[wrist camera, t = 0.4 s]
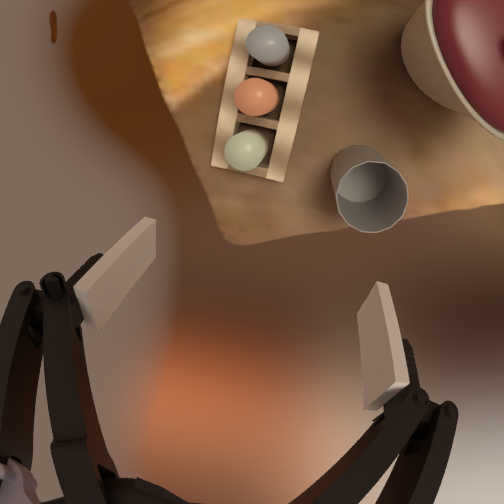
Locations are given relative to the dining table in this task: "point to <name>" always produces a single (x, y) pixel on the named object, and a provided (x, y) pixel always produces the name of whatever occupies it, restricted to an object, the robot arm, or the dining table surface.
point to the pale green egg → (246, 149)
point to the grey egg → (268, 45)
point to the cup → (368, 189)
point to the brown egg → (256, 97)
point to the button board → (292, 103)
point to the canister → (459, 57)
